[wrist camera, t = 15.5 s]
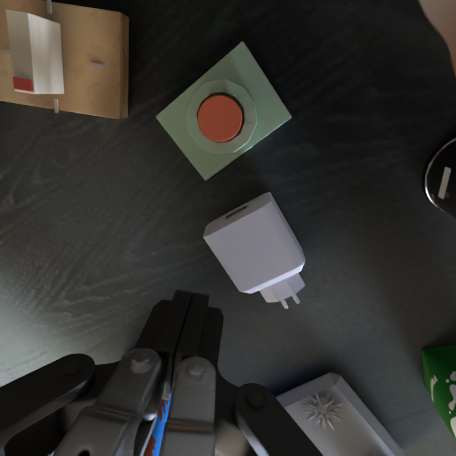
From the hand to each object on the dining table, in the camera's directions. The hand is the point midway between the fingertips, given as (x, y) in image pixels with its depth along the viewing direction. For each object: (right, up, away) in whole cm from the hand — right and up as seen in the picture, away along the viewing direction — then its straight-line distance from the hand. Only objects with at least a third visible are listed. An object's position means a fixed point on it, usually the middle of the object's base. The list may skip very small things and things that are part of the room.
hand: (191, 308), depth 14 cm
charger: (+7, 0, +29) cm, 30 cm away
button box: (+1, +16, +22) cm, 28 cm away
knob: (-17, +21, +19) cm, 33 cm away
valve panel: (-16, +22, +21) cm, 35 cm away
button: (+1, +15, +19) cm, 25 cm away
